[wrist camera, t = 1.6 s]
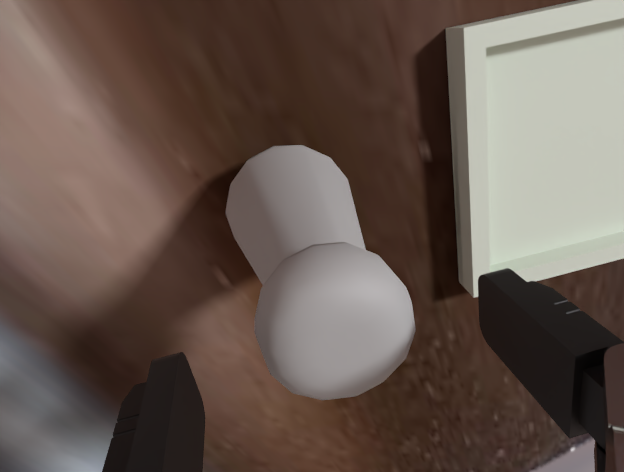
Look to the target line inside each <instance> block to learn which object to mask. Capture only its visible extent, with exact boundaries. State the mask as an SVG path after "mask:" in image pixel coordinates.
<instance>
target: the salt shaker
mask: <svg viewBox="0 0 624 472" xmlns="http://www.w3.org/2000/svg"><path fill="white" fill-rule="evenodd" d="M225 213H226V216H227V219H228V222H229V225H230V227H231V230H232V233H233V236H234V238H235V240H236V242H237V243H238V245H239V247H240V248H241V250H242V252H243V253H244V255H245V256H246V258H247V260H248V261H249V263H250V265H251V266H252V268H253V270H254V271H255V273H256V275H257V276H258V278H259V280H260V281H261V283H262V285H263V287H262V288H261V292H260V297H259V301H258V306H257V310H256V315H255V335H256V338H257V340H258V343H259V346H260V349H261V351H262V354H263V357H264V359H265V362H266V364H267V367H268V369H269V372H270V374H271V375H272V376H273V377H274V378H275V379H277V380H278V381H279V382H280V383H281V384H282V385H284V386H285V387H286V388H287V389H288V390H289V391H291V392H292V393H294V394H298V395H303V396H307V397H311V398H315V399H319V400H329V399H337V398H345V397H354V396H357V395H359V394H361V393H363V392H365V391H367V390H369V389H371V388H373V387H375V386H377V385H379V384H381V383H382V382H384V381H385V380H386V379H387V378H388V377H389V376H390V375H391V373H392V372H393V371H394V370H395V369H396V368H397V367H398V366H399V365H400V364H401V363H402V362H403V361H404V360H405V359H406V357H407V354H408V351H409V348H410V345H411V342H412V339H413V337H414V334H415V331H416V330H415V323H414V316H413V309H412V302H411V299H410V296H409V293H408V291H407V288H406V287H405V285H404V284H403V283H402V282H401V281H400V279H399V278H398V277H397V276H396V275H395V274H394V272H393V271H392V270H391V269H390V268H389V267H388V266H387V264H386V263H385V262H384V261H383V260H382V259H381V258H380V256H379V255H377V254H374V253H372V252H369V251H367V250H366V249H365V246H364V242H363V238H362V234H361V230H360V226H359V222H358V218H357V214H356V210H355V206H354V202H353V198H352V194H351V191H350V187H349V183H348V179H347V178H346V176H345V175H344V174H343V173H342V172H341V170H340V169H339V168H338V167H337V165H336V164H335V163H334V162H333V161H332V159H331V158H330V157H328V156H326V155H323V154H321V153H319V152H317V151H314V150H312V149H310V148H308V147H305V146H303V145H288V146H273V147H271V148H269V149H267V150H265V151H263V152H261V153H259V154H257V155H256V156H254V157H252V158H250V159H248V160H247V162H246V163H245V164H244V166H243V167H242V168H241V170H240V171H239V173H238V174H237V175H236V177H235V178H234V180H233V181H232V183H231V184H230V189H229V195H228V200H227V206H226V212H225Z"/></svg>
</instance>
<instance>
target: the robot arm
mask: <svg viewBox="0 0 624 472" xmlns="http://www.w3.org/2000/svg"><path fill="white" fill-rule="evenodd" d="M478 299H479V322H480V328H481V331H482V334H483V337H484V339H485V340H486V342H487V344H488V345H489V346H490V347H491V348H492V350H493V351H494V352H495V353H496V354H497V355H498V357H499V358H500V359H501V360H502V361H503V362H504V363H505V365H506V366H507V367H508V368H509V369H510V370H511V372H512V373H513V374H514V375H515V376H516V377H517V378H518V380H519V381H520V382H521V383H522V384H523V385H524V387H525V388H526V389H527V390H528V391H529V392H530V393H531V395H532V396H533V397H534V398H535V399H536V400H537V402H538V403H539V404H540V405H541V406H542V407H543V408H544V410H545V411H546V412H547V413H548V414H549V415H550V417H551V418H552V419H553V420H554V421H555V422H556V423H557V425H558V426H559V427H560V428H561V429H562V430H563V432H564V433H565V434H566V435H567V436H568V437H569V438H573V437H576V436H579V435H583V434H586V433H589V434H590V435H591V436H592V437H593V438H594V439H595V448H594V459H595V472H624V342H623V341H622V340H620V339H619V338H618V337H616V336H615V335H614V334H612V333H611V332H610V331H608V330H607V329H606V328H605V327H603V326H602V325H601V324H599V323H598V322H597V321H595V320H594V319H593V318H591V317H590V316H589V315H587V314H586V313H585V312H583V311H580V310H579V308H578V307H577V306H575V305H574V304H573V303H571V302H568V301H567V299H566V298H565V297H563V296H562V295H561V294H559V293H558V292H557V291H555V290H554V289H553V288H550V287H548V286H545V285H542V284H540V283H537V282H535V281H530V282H526V281H525V280H524V279H523V278H521V277H520V276H519V275H518V274H516V273H515V272H514V271H513V270H511V269H509V268H506V269H502V270H498V271H494V272H490V273H486V274H483V275H480V276H479V279H478ZM117 421H118V423H116V425H115V429H114V432H113V438H112V439H111V443H110V446H109V450H108V453H107V457H106V460H105V464H104V467H103V471H102V472H202V469H203V451H204V433H205V412H204V406H203V401H202V398H201V395H200V392H199V390H198V387H197V384H196V382H195V379H194V377H193V374H192V371H191V369H190V366H189V364H188V361H187V358H186V356H185V355H184V353H183V352H180V353H177V354H173V355H169V356H165V357H161V358H157V359H154V360H152V362H151V365H150V370H149V374H148V378H147V382H145V383H141V384H137V385H135V386H134V387H133V388H132V390H131V391H130V392H129V394H128V395H127V396H126V398H125V399H124V401H123V402H122V405H121V408H120V412H119V415H118V419H117Z"/></svg>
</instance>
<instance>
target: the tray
mask: <svg viewBox="0 0 624 472" xmlns="http://www.w3.org/2000/svg"><path fill="white" fill-rule="evenodd" d="M446 47H447V66H448V85H449V104H450V123H451V142H452V161H453V180H454V199H455V218H456V237H457V256H458V275H459V283H460V284H461V285H462V286H463V287H464V288H465V289H466V290H467V291H468V292H469V293H470V294H471V295H472V296H473V297H478V279H479V276H480V275H483V274H486V273H490V272H494V271H498V270H502V269H506V268H509V269H511V270H513V271H514V272H515V273H516V274H518V275H519V276H520V277H521V278H523V279H524V280H525V281H526V282H530V281H539V280H543V279H547V278H550V277H554V276H558V275H562V274H566V273H569V272H573V271H577V270H581V269H585V268H588V267H592V266H596V265H600V264H604V263H607V262H611V261H615V260H619V259H623V258H624V0H578V1H573V2H568V3H564V4H559V5H554V6H549V7H545V8H540V9H535V10H531V11H526V12H521V13H516V14H512V15H507V16H502V17H497V18H493V19H488V20H483V21H478V22H474V23H469V24H464V25H460V26H455V27H450V28H446Z"/></svg>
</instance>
